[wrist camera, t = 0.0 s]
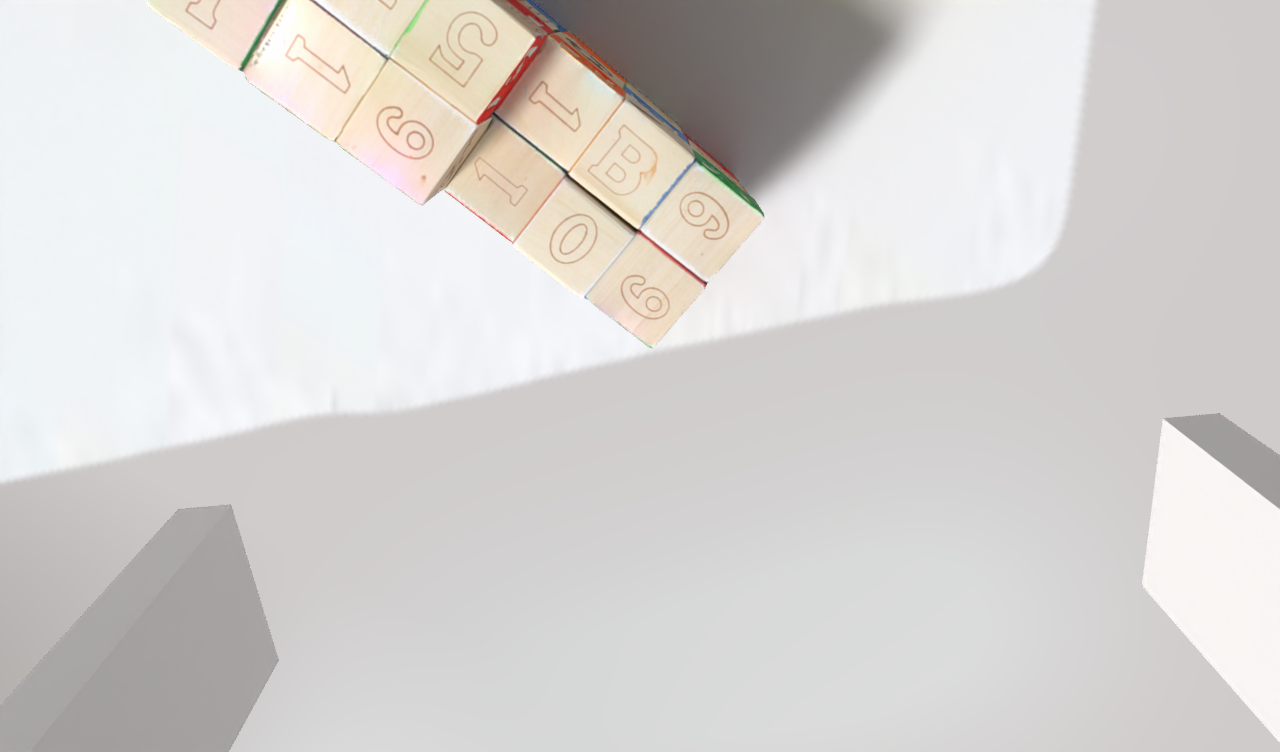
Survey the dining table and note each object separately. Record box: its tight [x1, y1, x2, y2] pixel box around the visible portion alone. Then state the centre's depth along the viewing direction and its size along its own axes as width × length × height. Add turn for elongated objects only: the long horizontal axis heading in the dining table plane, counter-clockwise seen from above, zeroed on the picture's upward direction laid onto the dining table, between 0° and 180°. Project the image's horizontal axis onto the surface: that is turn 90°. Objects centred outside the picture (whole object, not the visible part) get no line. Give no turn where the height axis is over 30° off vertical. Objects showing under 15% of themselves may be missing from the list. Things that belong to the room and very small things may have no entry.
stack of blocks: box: [146, 0, 764, 348], centre depth 32 cm, size 21×6×12 cm, turn 51°
